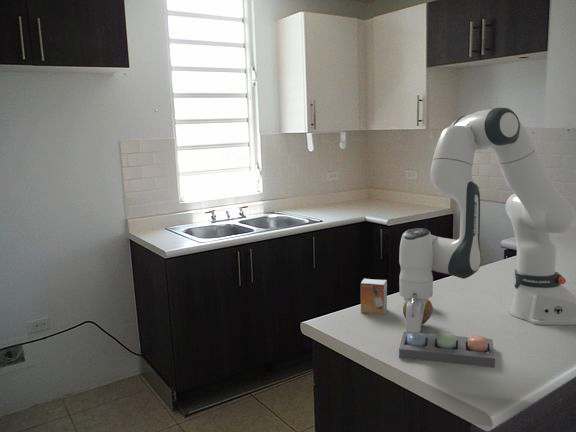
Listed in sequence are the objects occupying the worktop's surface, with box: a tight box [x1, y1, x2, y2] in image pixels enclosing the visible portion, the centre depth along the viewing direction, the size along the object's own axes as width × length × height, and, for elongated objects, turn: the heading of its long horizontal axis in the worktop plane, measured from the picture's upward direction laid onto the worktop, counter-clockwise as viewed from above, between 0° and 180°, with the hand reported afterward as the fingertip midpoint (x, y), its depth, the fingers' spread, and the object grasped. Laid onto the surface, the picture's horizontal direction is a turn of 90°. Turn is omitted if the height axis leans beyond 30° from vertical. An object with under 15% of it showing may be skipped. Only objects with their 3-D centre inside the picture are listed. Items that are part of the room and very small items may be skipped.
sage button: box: [436, 332, 457, 350], centre depth 137 cm, size 5×5×3 cm
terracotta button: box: [467, 334, 489, 353], centre depth 135 cm, size 5×5×3 cm
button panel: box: [398, 331, 496, 368], centre depth 138 cm, size 24×12×2 cm, turn 71°
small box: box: [360, 278, 388, 316], centre depth 170 cm, size 8×6×10 cm
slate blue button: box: [406, 332, 426, 347], centre depth 140 cm, size 5×5×3 cm
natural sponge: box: [402, 299, 434, 326], centre depth 156 cm, size 9×9×10 cm
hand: (415, 336), depth 140 cm, fingers closed, pressing on slate blue button
